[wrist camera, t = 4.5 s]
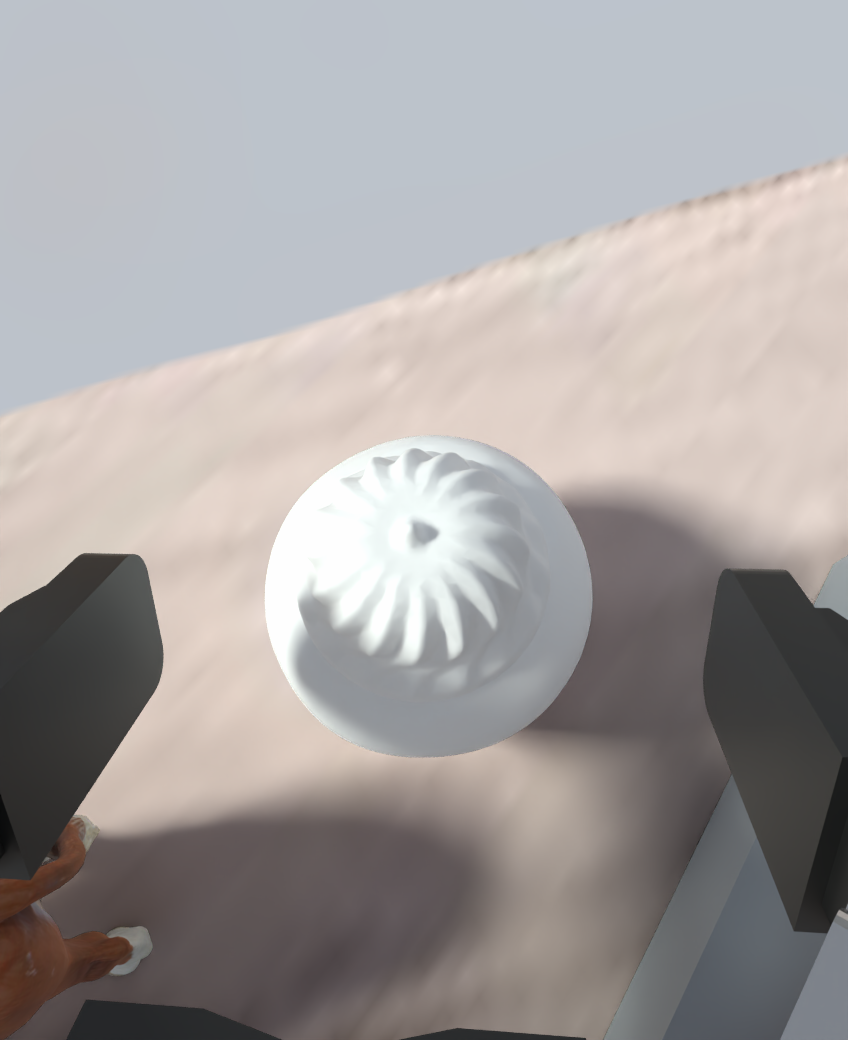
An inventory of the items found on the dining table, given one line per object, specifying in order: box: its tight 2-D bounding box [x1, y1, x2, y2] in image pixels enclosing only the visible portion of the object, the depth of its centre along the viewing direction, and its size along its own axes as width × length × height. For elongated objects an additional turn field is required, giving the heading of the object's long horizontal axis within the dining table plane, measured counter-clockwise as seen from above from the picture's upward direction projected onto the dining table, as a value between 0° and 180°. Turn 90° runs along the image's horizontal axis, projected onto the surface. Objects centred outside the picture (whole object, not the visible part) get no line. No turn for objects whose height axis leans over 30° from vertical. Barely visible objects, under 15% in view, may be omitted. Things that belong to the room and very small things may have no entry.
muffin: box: [265, 435, 593, 757], centre depth 14 cm, size 6×6×7 cm
